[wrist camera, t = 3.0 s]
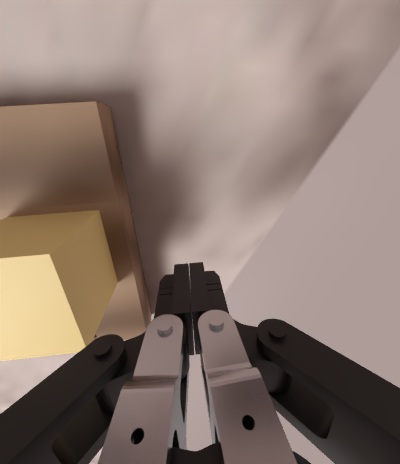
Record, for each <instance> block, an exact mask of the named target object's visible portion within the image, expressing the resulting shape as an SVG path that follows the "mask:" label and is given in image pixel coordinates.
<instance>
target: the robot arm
mask: <svg viewBox="0 0 400 464" xmlns="http://www.w3.org/2000/svg"><path fill="white" fill-rule="evenodd" d="M189 266H190V277H189ZM189 266H188V264H177V265H174V274H171V275H165V276H164V277H163V278H162V280H161V281H160V285H159V291H158V297H157V303H156V309H155V316H154V319H153V320H152V321H151V322H150V323H149V325H148V326H147V329H146V331H145V332H144V333H142V334H141V335H139V336H137V337H134V338H131V339H129V340H126V341H123V339H122V338H121V337H120V336H119V335H116V334H108V335H104V336H101V337H99V338H97V339H95V340H94V341H92V342H91V343H90V344H88V345H87V346H86V347H85V348H83V349H82V350H81V351H80V352H78V353H77V354H76V355H75V356H73V357H72V358H71V359H70V360H68V361H67V362H66V363H64V364H63V365H62V366H61V367H59V368H58V369H57V370H56V371H54V372H53V373H52V374H51V375H49V376H48V377H47V378H46V379H44V380H43V381H42V382H40V383H39V384H38V385H37V386H35V387H34V388H33V389H32V390H30V391H29V392H28V393H27V394H25V395H24V396H23V397H22V398H20V399H19V400H18V401H16V402H15V403H14V404H13V405H11V406H10V407H9V408H8V409H6V410H5V411H4V412H3V413H1V414H0V464H89V463H90V462H91V460H92V459H93V458H94V457H95V455H96V454H97V453H98V452H99V450H100V449H101V448H102V447H103V449H102V452H101V455H100V458H99V461H98V464H311V463H310V462H308V461H307V460H306V459H304V458H303V457H302V456H300V455H299V454H297V453H295V452H293V451H292V449H291V447H290V445H289V442H288V440H287V437H286V435H285V432H284V430H283V427H282V425H281V423H280V420H279V418H278V415H277V413H276V411H277V412H279V413H280V414H281V415H282V416H283V417H284V418H285V419H286V420H287V421H289V422H290V423H291V424H292V425H293V426H294V427H295V428H296V429H297V430H298V431H300V432H301V433H302V434H303V435H304V436H305V437H306V438H307V439H308V440H310V441H311V442H312V443H313V444H314V445H315V446H316V447H317V448H318V449H319V450H321V451H322V452H323V453H324V454H325V455H326V456H327V457H328V458H329V459H330V460H332V461H333V462H334V463H335V464H400V388H398V387H397V386H395V385H393V384H392V383H390V382H388V381H386V380H385V379H383V378H381V377H379V376H378V375H376V374H374V373H372V372H371V371H369V370H367V369H366V368H364V367H362V366H360V365H359V364H357V363H355V362H354V361H352V360H350V359H348V358H347V357H345V356H343V355H341V354H340V353H338V352H336V351H335V350H333V349H331V348H330V347H328V346H326V345H324V344H322V343H321V342H319V341H317V340H316V339H314V338H312V337H310V336H309V335H307V334H305V333H304V332H302V331H300V330H298V329H297V328H295V327H293V326H292V325H290V324H288V323H286V322H284V321H282V320H278V319H267V320H264V321H262V322H261V323H260V324H259V325H258V327H254V326H248V325H243V324H241V323H239V322H237V321H235V320H234V319H233V318H232V316H231V315H230V314H229V312H228V308H227V304H226V301H225V297H224V293H223V290H222V285H221V281H220V278H219V276H218V275H217V274H216V273H215V272H214V271H205V272H204V266H203V262H199V263H189ZM190 286H191V288H190ZM192 319H193V322H192ZM193 330H194V341H195V351H196V354H200V357H201V368H202V377H203V384H204V390H205V397H206V403H207V410H208V416H209V422H210V429H211V437H212V445H210V446H208V447H206V448H204V449H202V450H199V451H189V450H187V447H186V422H187V421H186V420H187V402H188V382H189V355H194V341H193Z"/></svg>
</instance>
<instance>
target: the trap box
mask: <svg viewBox="0 0 400 464" xmlns="http://www.w3.org/2000/svg"><path fill="white" fill-rule="evenodd" d="M93 210H99V212H100V216H101V220H102V224H103V227H104V231H105V235H106V239H107V243H108V247H109V250H110V254H111V258H112V262H113V266H114V270H115V273H116V277H117V281H118V283H117V286H116V288H115V290H114V293H113V295H112V297H111V299H110V302H109V304H108V306H107V309H106V311H105V313H104V315H103V318H102V320H101V322H100V325H99V327H98V329H97V331H96V334H95V336H94V338H93V341H94V340H95V339H97V338H99V337H101V336H104V335H108V334H116V335H119V336H120V337H121V338H122V339H123V340H127V339H131V338H134V337H137V336H139V335H141V334H142V333H144V332H145V331H146V329H147V326H148V325H149V323H150V321H151V309H150V304H149V299H148V294H147V289H146V284H145V279H144V274H143V269H142V264H141V259H140V254H139V249H138V244H137V239H136V234H135V229H134V224H133V219H132V213H131V208H130V203H129V198H128V193H127V188H126V183H125V178H124V173H123V168H122V163H121V158H120V153H119V148H118V143H117V138H116V133H115V128H114V123H113V117H112V112H111V107H108V106H106V105H104V104H101V103H99V102H96V101H93V102H75V103H56V104H38V105H20V106H2V107H0V220H2V219H4V218H6V217H16V216H29V215H42V214H54V213H67V212H80V211H93Z"/></svg>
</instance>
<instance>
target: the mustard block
mask: <svg viewBox="0 0 400 464" xmlns="http://www.w3.org/2000/svg"><path fill="white" fill-rule="evenodd" d="M117 283H118V281H117V277H116V273H115V270H114V266H113V262H112V258H111V254H110V250H109V247H108V243H107V239H106V235H105V231H104V227H103V224H102V220H101V216H100V212H99V210H93V211H80V212H67V213H54V214H42V215H29V216H16V217H6V218H4V219H2V220H0V361H5V360H15V359H24V358H33V357H42V356H51V355H61V354H70V353H78V352H80V351H81V350H82V349H83V348H85V347H86V346H87V345H88V344H90V343H91V342H92V341H93V338H94V336H95V334H96V331H97V329H98V327H99V325H100V322H101V320H102V318H103V315H104V313H105V311H106V309H107V306H108V304H109V302H110V299H111V297H112V295H113V293H114V290H115V288H116V286H117Z"/></svg>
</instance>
